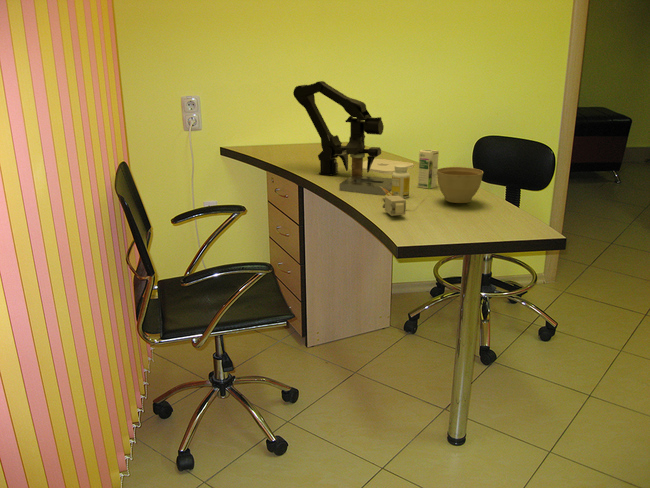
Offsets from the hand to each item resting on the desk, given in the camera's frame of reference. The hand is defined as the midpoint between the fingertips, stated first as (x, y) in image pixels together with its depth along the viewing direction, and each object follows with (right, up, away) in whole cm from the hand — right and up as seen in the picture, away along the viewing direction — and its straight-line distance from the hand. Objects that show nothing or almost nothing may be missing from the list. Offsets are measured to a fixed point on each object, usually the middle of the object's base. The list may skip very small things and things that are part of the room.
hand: (357, 171), depth 253 cm
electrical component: (+8, -17, -39) cm, 43 cm away
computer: (+12, +3, +21) cm, 25 cm away
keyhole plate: (+3, -8, -13) cm, 16 cm away
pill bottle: (+14, -13, -26) cm, 32 cm away
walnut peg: (0, -4, +1) cm, 4 cm away
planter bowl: (+35, -14, -31) cm, 49 cm away
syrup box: (+27, -8, -11) cm, 30 cm away
